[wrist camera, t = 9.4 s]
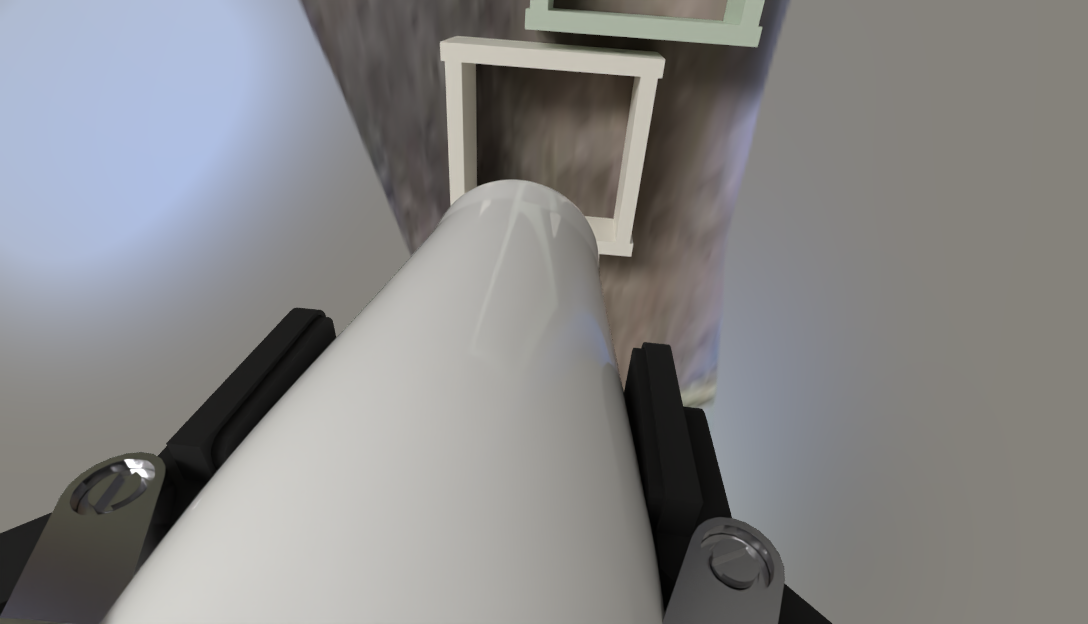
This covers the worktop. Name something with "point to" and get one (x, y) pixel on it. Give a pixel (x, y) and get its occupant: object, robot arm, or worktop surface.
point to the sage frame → (653, 24)
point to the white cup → (435, 454)
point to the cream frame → (472, 51)
